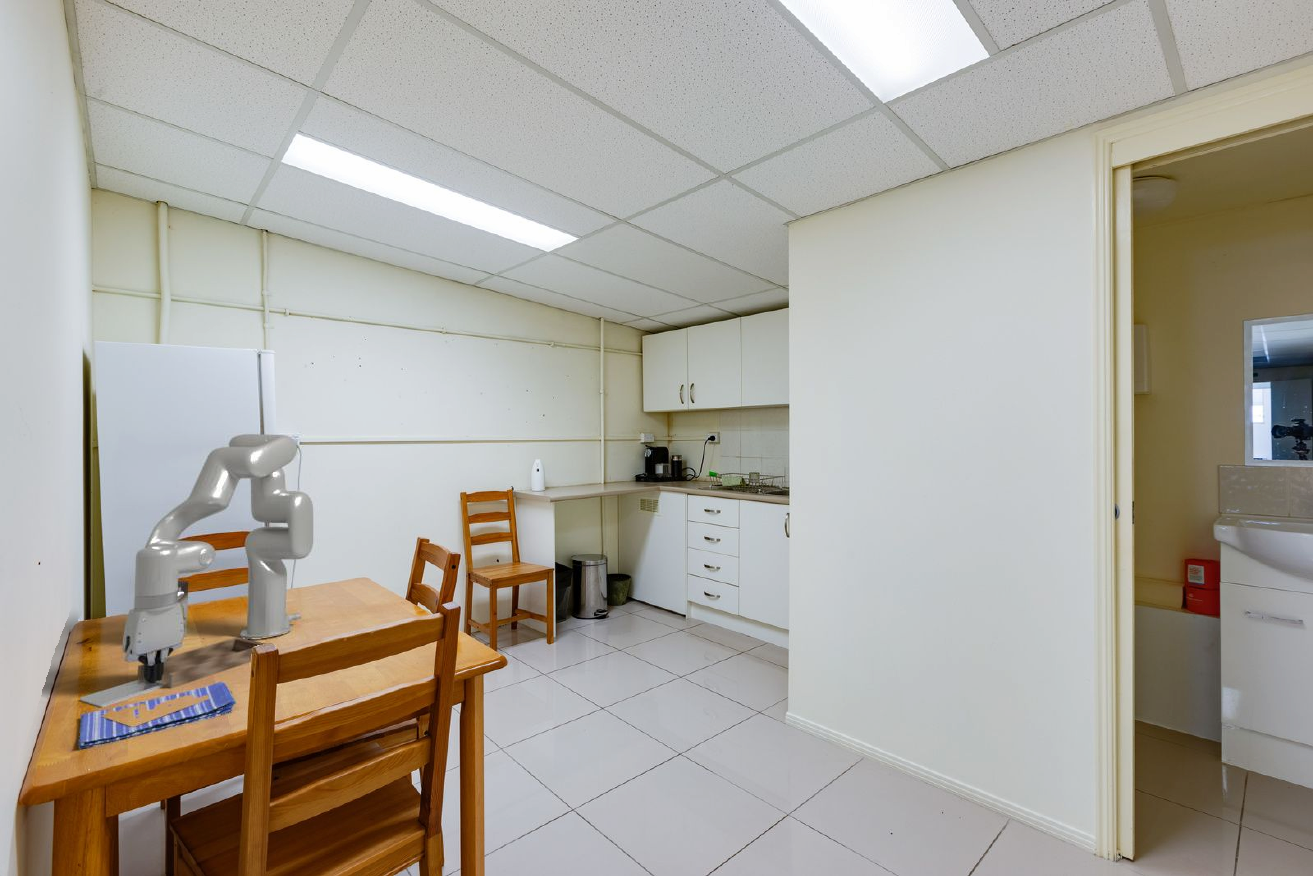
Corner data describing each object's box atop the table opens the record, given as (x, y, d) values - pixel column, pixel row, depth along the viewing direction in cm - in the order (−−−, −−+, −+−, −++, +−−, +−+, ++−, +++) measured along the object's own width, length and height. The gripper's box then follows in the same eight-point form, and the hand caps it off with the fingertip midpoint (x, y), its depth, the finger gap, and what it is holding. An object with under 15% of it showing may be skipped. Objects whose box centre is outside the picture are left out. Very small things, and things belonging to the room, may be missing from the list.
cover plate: (142, 687, 132) (142, 678, 132) (163, 693, 129) (163, 684, 129) (80, 706, 122) (80, 697, 122) (101, 713, 119) (101, 704, 119)
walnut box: (236, 651, 154) (237, 637, 154) (268, 658, 149) (269, 644, 149) (137, 682, 133) (138, 665, 133) (171, 691, 128) (171, 674, 128)
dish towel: (237, 714, 120) (237, 700, 120) (76, 755, 103) (77, 739, 103) (225, 688, 132) (225, 676, 132) (80, 721, 115) (80, 707, 115)
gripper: (183, 591, 139) (180, 666, 139) (106, 607, 125) (103, 690, 125) (202, 595, 137) (200, 671, 136) (125, 611, 123) (122, 696, 122)
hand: (153, 680), depth 131 cm, fingers closed
